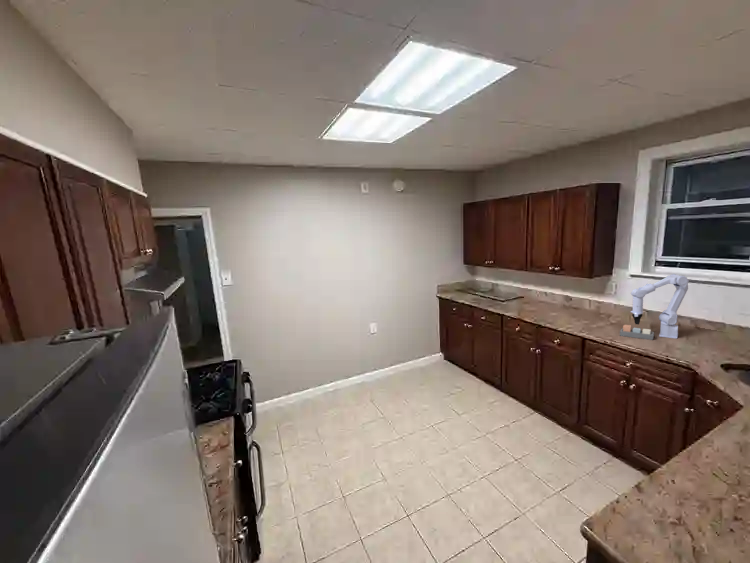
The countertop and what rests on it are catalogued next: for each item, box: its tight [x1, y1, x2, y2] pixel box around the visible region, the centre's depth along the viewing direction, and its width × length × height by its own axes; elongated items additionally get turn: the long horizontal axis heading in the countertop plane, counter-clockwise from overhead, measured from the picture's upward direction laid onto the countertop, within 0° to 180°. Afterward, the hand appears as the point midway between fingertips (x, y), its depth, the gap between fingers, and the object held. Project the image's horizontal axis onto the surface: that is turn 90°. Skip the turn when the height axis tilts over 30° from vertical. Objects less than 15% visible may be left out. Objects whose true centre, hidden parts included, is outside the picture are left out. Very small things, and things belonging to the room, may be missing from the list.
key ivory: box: [642, 328, 652, 334], centre depth 232 cm, size 4×4×4 cm
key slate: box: [632, 327, 642, 333], centre depth 236 cm, size 4×4×4 cm
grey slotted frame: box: [619, 327, 655, 341], centre depth 236 cm, size 19×9×3 cm, turn 47°
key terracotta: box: [622, 324, 632, 332], centre depth 239 cm, size 4×4×4 cm
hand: (637, 324), depth 235 cm, fingers closed
